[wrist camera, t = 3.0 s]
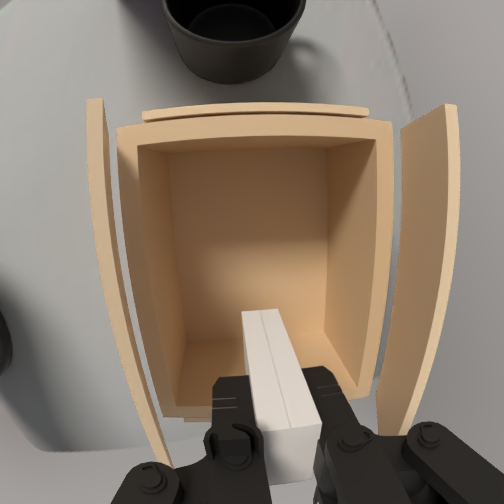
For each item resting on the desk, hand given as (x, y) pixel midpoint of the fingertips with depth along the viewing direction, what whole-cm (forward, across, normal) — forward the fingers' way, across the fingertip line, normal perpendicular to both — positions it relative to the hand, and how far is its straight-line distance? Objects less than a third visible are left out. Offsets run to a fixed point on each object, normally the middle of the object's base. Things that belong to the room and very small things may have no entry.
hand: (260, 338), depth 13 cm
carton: (+15, +1, 0) cm, 15 cm away
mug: (+16, +1, +20) cm, 25 cm away
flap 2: (+1, +8, 0) cm, 8 cm away
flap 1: (+1, -6, 0) cm, 6 cm away
